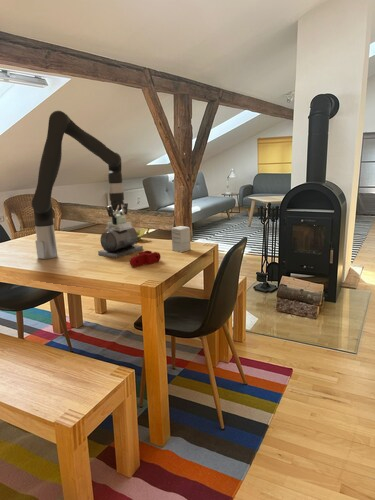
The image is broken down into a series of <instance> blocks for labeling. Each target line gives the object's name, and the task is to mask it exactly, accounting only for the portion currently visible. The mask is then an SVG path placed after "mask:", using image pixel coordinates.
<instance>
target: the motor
mask: <svg viewBox="0 0 375 500" xmlns="http://www.w3.org/2000/svg"><path fill="white" fill-rule="evenodd" d="M118 225H119V226H117V225H112V224H111V221H110V222H106V227H105V228H104V229H105V230H107V231H105V232H103V233H102V234H101V236H100V244H101V247H102V249H101V250H98V251H97V254H98V255H99V256H102V257H108V258H115V259H119V258H122V257H125V256H128V255H131V254H133V253H137V252H139V251H142V250H144V248H143V247H144V246H143V245H138V244H137V242H138V241H137V239H138V236H137V232H136V231H137V230H136V229H135V228H134V227H133V225H132V222H131V221H126V223H122V224H118Z"/></svg>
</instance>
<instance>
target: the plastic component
mask: <svg viewBox="0 0 375 500" xmlns="http://www.w3.org/2000/svg"><path fill="white" fill-rule="evenodd" d="M136 232H137V236H138V239H137V242H138V241H141V240H142V238H143V237H144V236H145V234H146V233H145V232H146V231H145V228H144V227H142V228H141V229H137V230H136Z"/></svg>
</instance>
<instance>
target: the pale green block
mask: <svg viewBox="0 0 375 500" xmlns="http://www.w3.org/2000/svg"><path fill="white" fill-rule="evenodd" d="M126 217H127V214H125V215H121V214H120V213H117V215H116V219H117V226H119V225H118V224H122V223H126V222H127V218H126ZM110 222H111V224H112V225H114V224H113V223H112V217H110Z"/></svg>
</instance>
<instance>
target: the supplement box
mask: <svg viewBox="0 0 375 500" xmlns="http://www.w3.org/2000/svg"><path fill="white" fill-rule="evenodd" d="M171 245H172V246H171V247H172V251H174V252H179V253H183V252H186V251H190V250H192V249H191V248H192V247H191V228H190V227H189V226H184V225H179V226H178V225H177V226H175V227H171Z"/></svg>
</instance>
